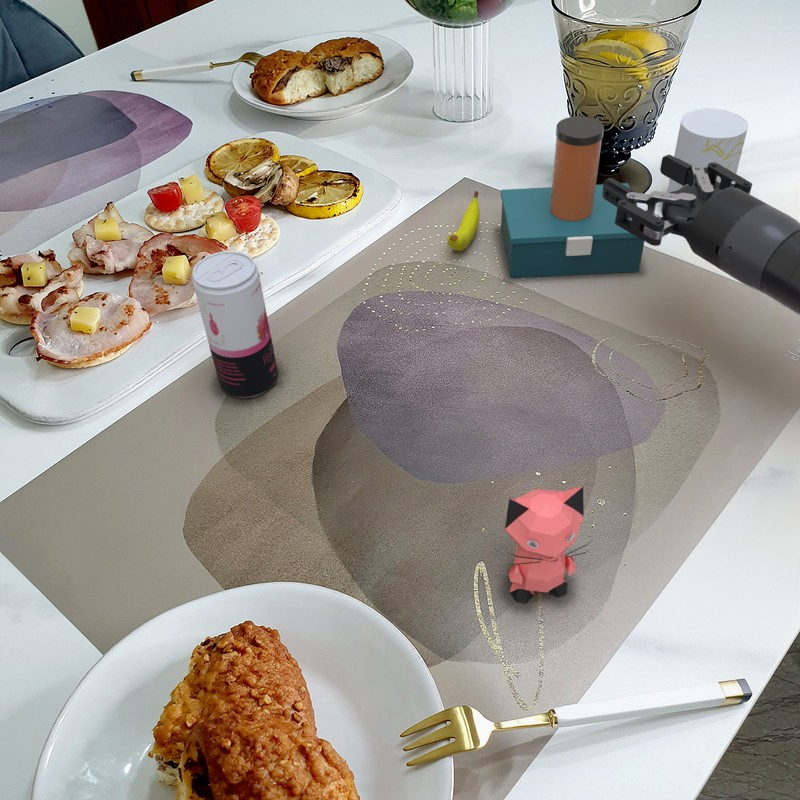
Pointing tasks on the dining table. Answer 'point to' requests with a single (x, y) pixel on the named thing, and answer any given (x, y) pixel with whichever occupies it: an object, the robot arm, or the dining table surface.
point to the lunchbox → (564, 237)
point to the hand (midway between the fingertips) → (634, 174)
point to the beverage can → (236, 323)
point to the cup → (710, 140)
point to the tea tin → (575, 167)
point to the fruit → (466, 227)
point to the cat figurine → (543, 540)
